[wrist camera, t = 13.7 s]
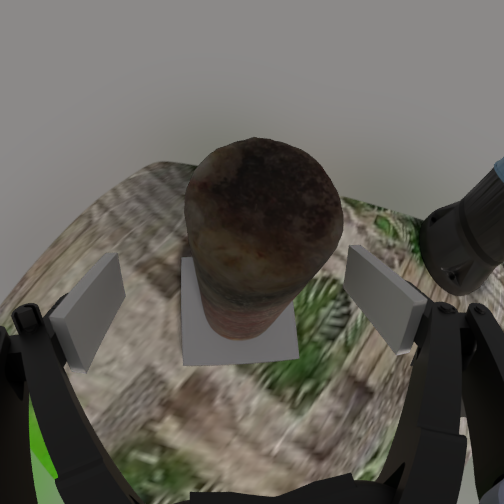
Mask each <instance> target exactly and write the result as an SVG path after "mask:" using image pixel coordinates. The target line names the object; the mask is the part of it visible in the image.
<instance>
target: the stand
mask: <svg viewBox="0 0 504 504" xmlns="http://www.w3.org/2000/svg"><path fill="white" fill-rule="evenodd" d="M181 317H182V352H183V366H217V365H238V364H253V363H265V362H276V361H286V360H294V359H299V351H298V342H297V333H296V324H295V315H294V307H293V301H292V302H291V303H290V304H289V305H288V306H287V307H286V308H285V310H284V311H283V312H282V313H281V314H280V315H279V317H278V318H277V319H276V320H275V321H274V322H273V324H272V325H271V326H270V327H269V328H268V329H267V330H266V331H265V332H263V333H262V334H261V335H260V336H258V337H256V338H253V339H249V340H244V341H234V340H229V339H227V338H224V337H222V336H220V335H218V334H217V333H216V332H215V331H214V330H213V329H212V328H211V327H210V325H209V323H208V321H207V319H206V317H205V313H204V309H203V305H202V301H201V295H200V290H199V285H198V282H197V277H196V272H195V267H194V262H193V258H192V257H182V264H181Z"/></svg>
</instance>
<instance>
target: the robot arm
mask: <svg viewBox="0 0 504 504" xmlns="http://www.w3.org/2000/svg"><path fill="white" fill-rule="evenodd" d="M420 248H421V253H422V256H423V259H424V262H425V264H426V267H427V269H428V271H429V272H430V274H431V276H432V277H433V278H434V280H435V281H436V282H437V283H438V285H439V286H440V287H441V288H443V289H444V290H445V291H447V292H448V293H450V294H452V295H455V296H464V295H467V294H469V293H471V292H473V291H475V290H476V289H478V288H479V287H480V286H481V285H482V284H483V282H484V281H485V280H486V279H487V278H488V276H489V275H490V274H491V273H492V271H493V270H494V269H495V268H496V266H498V265H500V264H501V263H503V262H504V157H503V158H502V159H501V160H499V161H497V162H496V163H495V164H494V168H493V169H492V170H491V171H490V172H489V173H488V174H487V175H486V176H485V177H484V178H483V179H482V180H481V181H480V182H479V183H478V184H477V185H476V186H475V187H474V188H473V189H472V190H471V191H470V192H469V193H468V194H467V195H466V196H465V197H464V198H463V199H462V200H461V201H458V202H456V203H453V204H450V205H448V206H445V207H442V208H439V209H437V210H435V211H434V212H432V213H431V214H430V215H429V216H428V218H426V219H425V220H424V222H423V224H422V226H421V229H420ZM343 288H344V289H345V291H346V292H347V293H348V294H349V296H350V297H351V298H352V299H353V301H354V302H355V303H356V304H357V305H358V307H359V308H360V309H361V310H362V312H363V313H364V314H365V315H366V317H367V318H368V319H369V321H370V322H371V323H372V324H373V326H374V327H375V328H376V329H377V331H378V332H379V333H380V335H381V336H382V337H383V339H384V340H385V341H386V342H387V344H388V345H389V346H390V348H391V349H392V350H393V352H394V353H395V354H396V356H397V355H401V354H405V353H409V352H410V350H411V347H412V345H413V342H415V343H416V344H417V345H418V348H417V350H416V353H415V355H414V358H413V360H412V362H411V365H410V366H413V368H412V373H411V378H410V382H409V387H408V391H407V395H406V399H405V403H404V406H403V410H402V414H401V417H400V420H399V424H398V427H397V430H396V433H395V436H394V439H393V442H392V445H391V448H390V451H389V454H388V456H387V459H386V462H385V464H384V467H383V469H382V471H381V473H380V475H379V477H378V478H377V480H376V481H375V482H374V481H366V480H354V479H353V477H352V474H351V473H347V474H344V475H340V476H336V477H332V478H328V479H324V480H319V481H314V482H312V483H310V484H308V485H305V486H303V487H300V488H298V489H296V490H293V491H290V492H288V493H285V494H282V495H280V496H276V497H267V496H257V495H249V494H242V493H235V492H190V500H187V501H182V502H178V503H175V504H456V503H457V499H458V495H459V491H460V486H461V481H462V476H463V470H464V464H465V457H466V449H467V438H466V436H465V435H459V427H460V415H461V397H462V399H463V403H464V408H465V413H466V418H467V423H468V429H469V435H470V441H471V448H472V456H473V465H474V476H475V485H476V490H477V495H478V499H479V504H504V333H503V331H502V329H501V328H500V326H499V324H498V323H497V321H496V319H495V318H494V316H493V315H492V313H491V311H490V310H489V309H488V308H487V307H485V305H483V304H480V303H479V304H478V303H471V304H469V306H468V309H467V312H466V313H458V311H457V309H456V308H455V307H454V306H452V305H451V304H448V303H445V302H435V303H434V302H433V301H432V300H431V299H430V298H429V297H427V296H426V295H425V294H424V293H423V292H422V293H421V291H420V290H419V289H417V287H415V286H414V285H413V284H412V283H410V282H408V281H406V280H404V279H403V278H401V277H400V276H399V275H398V274H397V273H395V272H394V271H393V270H392V269H390V268H389V267H388V266H387V265H385V264H384V263H383V262H382V261H380V260H379V259H378V258H377V257H375V256H374V255H373V254H371V253H370V252H369V251H368V250H366V249H365V248H364V247H362V246H361V245H349V250H348V257H347V265H346V272H345V278H344V285H343ZM125 297H126V296H125V291H124V286H123V281H122V276H121V270H120V265H119V259H118V253H105V254H104V255H103V256H102V257H101V258H100V259H99V260H98V262H97V263H96V264H95V265H94V266H93V267H92V268H91V269H90V270H89V271H88V272H87V273H86V274H85V276H84V277H83V278H82V279H81V280H80V281H79V282H78V283H77V284H76V286H75V287H74V288H73V289H72V290H71V291H70V292H69V293H67V294H65V295H63V296H62V297H60V298H59V299H58V301H57V302H56V303H55V305H53V306H52V308H51V309H50V310H49V311H48V312H47V314H46V315H45V316H44V317H43V318H42V315H41V312H40V310H39V307H38V305H37V304H34V303H28V304H24V305H22V306H19V307H18V308H16V309H15V310H14V311H13V313H12V315H11V317H12V319H13V322H14V324H15V327H16V329H17V332H18V334H19V335H12V336H9V335H8V333H7V331H6V329H5V327H3V326H0V504H38V502H37V497H36V491H35V486H34V480H33V473H32V464H31V454H30V441H29V393H30V397H31V401H32V405H33V408H34V412H35V415H36V418H37V422H38V425H39V428H40V431H41V434H42V436H43V439H44V442H45V445H46V447H47V450H48V453H49V455H50V457H51V460H52V462H53V465H54V467H55V469H56V471H57V474H58V478H57V479H55V484H56V487H57V489H58V492H59V493H60V496H61V498H62V499H63V502H64V503H65V504H145V503H144V502H143V501H142V500H141V499H140V497H139V496H138V495H137V494H136V493H135V491H134V490H133V489H132V487H131V486H130V485H129V483H128V482H127V481H126V479H125V478H124V477H123V475H122V474H121V472H120V471H119V469H118V468H117V466H116V465H115V464H114V462H113V460H112V459H111V457H110V456H109V454H108V453H107V451H106V450H105V448H104V446H103V445H102V443H101V441H100V440H99V438H98V436H97V434H96V433H95V431H94V429H93V427H92V426H91V424H90V422H89V420H88V418H87V416H86V414H85V412H84V410H83V408H82V406H81V404H80V402H79V400H78V398H77V396H76V394H75V392H74V390H73V387H72V385H71V383H70V381H69V378H68V376H67V374H66V372H65V370H64V365H65V364H66V362H68V365H69V367H70V369H71V371H72V372H78V373H86V374H87V371H88V369H89V367H90V365H91V363H92V361H93V359H94V356H95V354H96V352H97V350H98V348H99V346H100V344H101V342H102V340H103V338H104V336H105V334H106V332H107V330H108V328H109V326H110V324H111V323H112V321H113V319H114V317H115V315H116V313H117V311H118V309H119V308H120V306H121V304H122V302H123V300H124V298H125Z"/></svg>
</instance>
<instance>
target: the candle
mask: <svg viewBox="0 0 504 504" xmlns="http://www.w3.org/2000/svg"><path fill="white" fill-rule="evenodd" d="M184 214H185V219H186V225H187V233H188V241H189V245H190V249H191V254H192V258H193V262H194V267H195V272H196V277H197V282H198V285H199V290H200V295H201V301H202V305H203V309H204V313H205V317H206V319H207V321H208V323H209V325H210V327H211V328H212V329H213V330H214V331H215V332H216V333H217V334H218V335H220V336H222V337H224V338H227V339H229V340H234V341H244V340H249V339H253V338H256V337H258V336H260V335H261V334H262V333H263V332H265V331H266V330H267V329H268V328H269V327H270V326H271V325H272V324H273V322H274V321H275V320H276V319H277V318H278V317H279V315H280V314H281V313H282V312H283V311H284V310H285V308H286V307H287V306H288V305H289V304H290V303H291V302H292V301H293V299H294V298H295V297H296V296H297V295H298V294H299V293H300V292H301V291H302V289H303V288H304V287H305V286H306V284H307V283H308V282H309V281H310V280H311V279H312V278H313V277H314V275H315V274H316V273H317V272H318V271H319V270H320V269H321V268H322V266H323V265H324V264H325V263H326V262H327V261H328V259H329V258H330V256H331V255H332V254H333V252H334V251H335V249H336V248H337V246H338V243H339V240H340V238H341V236H342V233H343V211H342V208H341V201H340V198H339V195H338V192H337V190H336V188H335V187H334V185H333V183H332V181H331V179H330V178H329V177H328V175H327V174H326V172H325V171H324V169H323V167H322V166H321V165H320V164H319V163H318V162H317V161H316V160H315V159H314V158H313V157H311V156H310V155H309V154H308V153H306V152H304V151H303V150H301V149H299V148H296V147H293V146H290V145H288V144H286V143H283V142H279V141H274V140H271V139H264V138H257V137H253V138H249V139H246V140H243V141H237V142H234V143H232V144H229V145H227V146H224V147H221V148H218V149H216V150H215V151H214V152H212V153H210V154H209V155H208V156H207V157H206V158H205V159H204V160H203V161H202V162H201V163H200V165H199V166H198V167H197V168H196V170H195V171H194V173H193V175H192V177H191V180H190V182H189V184H188V187H187V190H186V193H185V208H184Z"/></svg>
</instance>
